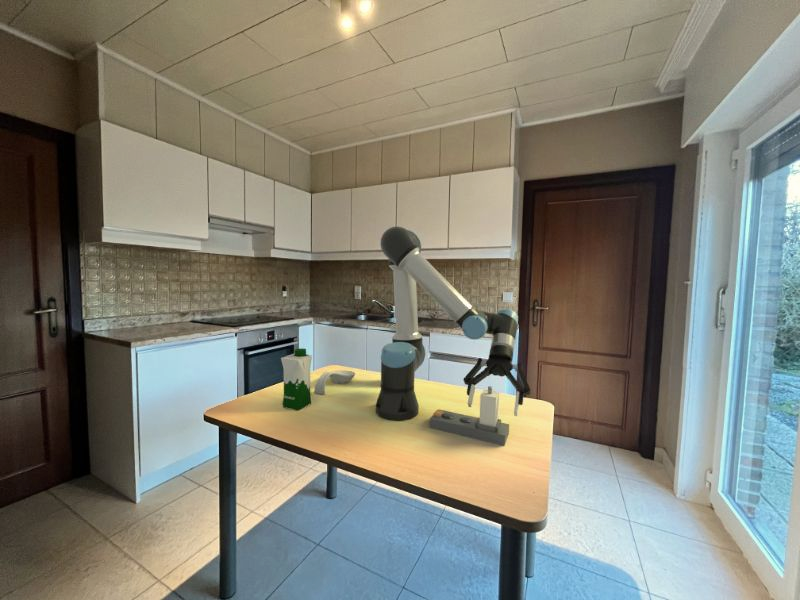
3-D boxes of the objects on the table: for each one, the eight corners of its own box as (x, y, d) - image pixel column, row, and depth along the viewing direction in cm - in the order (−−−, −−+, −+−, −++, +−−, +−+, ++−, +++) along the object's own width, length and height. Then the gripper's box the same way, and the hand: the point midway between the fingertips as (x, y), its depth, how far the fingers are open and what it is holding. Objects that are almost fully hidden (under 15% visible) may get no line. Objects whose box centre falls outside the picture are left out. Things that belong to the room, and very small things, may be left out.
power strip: (429, 427, 105) (429, 414, 105) (438, 417, 113) (438, 405, 112) (504, 445, 95) (505, 431, 95) (508, 433, 102) (509, 420, 102)
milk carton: (314, 402, 123) (314, 349, 121) (298, 412, 115) (298, 355, 113) (295, 399, 126) (295, 347, 125) (278, 407, 118) (277, 352, 116)
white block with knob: (479, 427, 100) (480, 388, 99) (482, 420, 104) (484, 383, 103) (494, 430, 98) (496, 390, 97) (497, 423, 102) (499, 385, 101)
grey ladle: (336, 376, 156) (336, 360, 155) (359, 379, 152) (359, 363, 151) (306, 393, 133) (306, 375, 133) (332, 397, 130) (332, 379, 129)
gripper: (542, 360, 109) (536, 423, 97) (467, 351, 120) (453, 407, 108) (542, 348, 104) (536, 412, 92) (463, 339, 115) (449, 396, 103)
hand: (491, 409), depth 100 cm, fingers open, 13 cm apart
